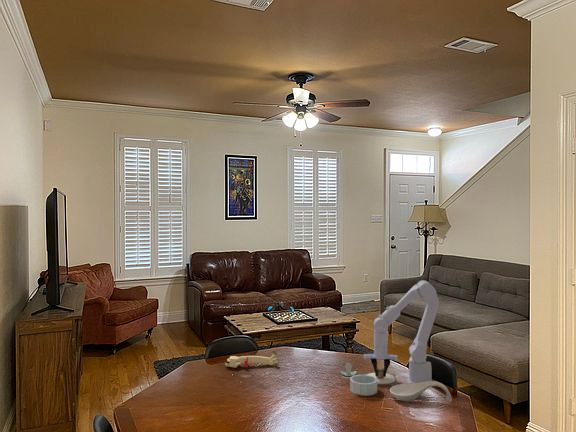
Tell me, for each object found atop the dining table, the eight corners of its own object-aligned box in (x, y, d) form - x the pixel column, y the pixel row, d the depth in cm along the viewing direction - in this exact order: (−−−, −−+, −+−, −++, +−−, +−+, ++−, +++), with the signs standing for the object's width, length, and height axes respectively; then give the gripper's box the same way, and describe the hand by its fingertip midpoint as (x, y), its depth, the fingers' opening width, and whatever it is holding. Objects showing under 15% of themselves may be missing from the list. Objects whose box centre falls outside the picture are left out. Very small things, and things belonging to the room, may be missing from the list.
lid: (393, 374, 212) (393, 365, 212) (397, 384, 200) (397, 375, 200) (364, 373, 214) (364, 364, 214) (366, 383, 201) (366, 374, 201)
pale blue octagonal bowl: (376, 386, 199) (376, 375, 199) (378, 397, 188) (378, 384, 188) (350, 385, 200) (350, 374, 200) (350, 395, 189) (350, 383, 189)
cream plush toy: (275, 364, 233) (224, 362, 229) (276, 347, 233) (226, 344, 229) (277, 371, 223) (224, 369, 219) (278, 352, 223) (226, 350, 219)
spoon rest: (391, 404, 181) (391, 386, 181) (388, 392, 193) (388, 375, 193) (454, 406, 179) (454, 388, 179) (446, 394, 191) (446, 377, 191)
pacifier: (357, 380, 207) (356, 375, 213) (357, 366, 207) (356, 361, 213) (340, 379, 208) (340, 374, 214) (340, 365, 208) (340, 361, 214)
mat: (394, 375, 213) (394, 374, 213) (398, 386, 199) (398, 385, 199) (363, 373, 215) (363, 372, 215) (365, 385, 201) (365, 383, 201)
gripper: (396, 343, 210) (396, 373, 210) (363, 342, 211) (363, 372, 212) (398, 347, 203) (397, 379, 203) (364, 346, 204) (364, 377, 205)
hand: (380, 375), depth 207 cm, fingers closed on lid, 3 cm apart
